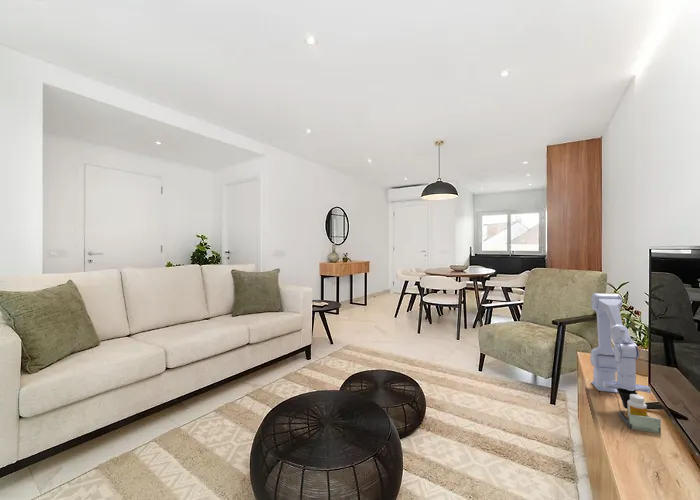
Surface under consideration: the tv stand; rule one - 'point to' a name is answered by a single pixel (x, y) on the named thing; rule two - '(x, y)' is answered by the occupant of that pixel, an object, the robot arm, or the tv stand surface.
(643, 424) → the seating bay
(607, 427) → the tv stand surface
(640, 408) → the supplement bottle
